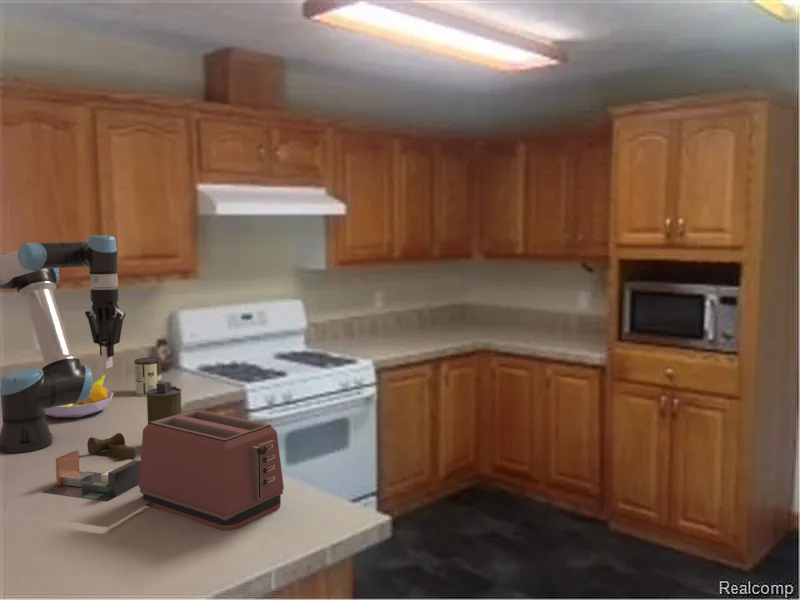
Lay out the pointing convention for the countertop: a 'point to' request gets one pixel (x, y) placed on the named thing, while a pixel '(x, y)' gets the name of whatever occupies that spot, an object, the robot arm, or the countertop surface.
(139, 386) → the coffee can
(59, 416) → the fruit bowl
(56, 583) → the countertop surface
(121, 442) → the kendama
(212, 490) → the toaster
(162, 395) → the canister
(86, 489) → the grey slider puzzle board
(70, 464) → the two-tone wooden block
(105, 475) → the cream cube block
